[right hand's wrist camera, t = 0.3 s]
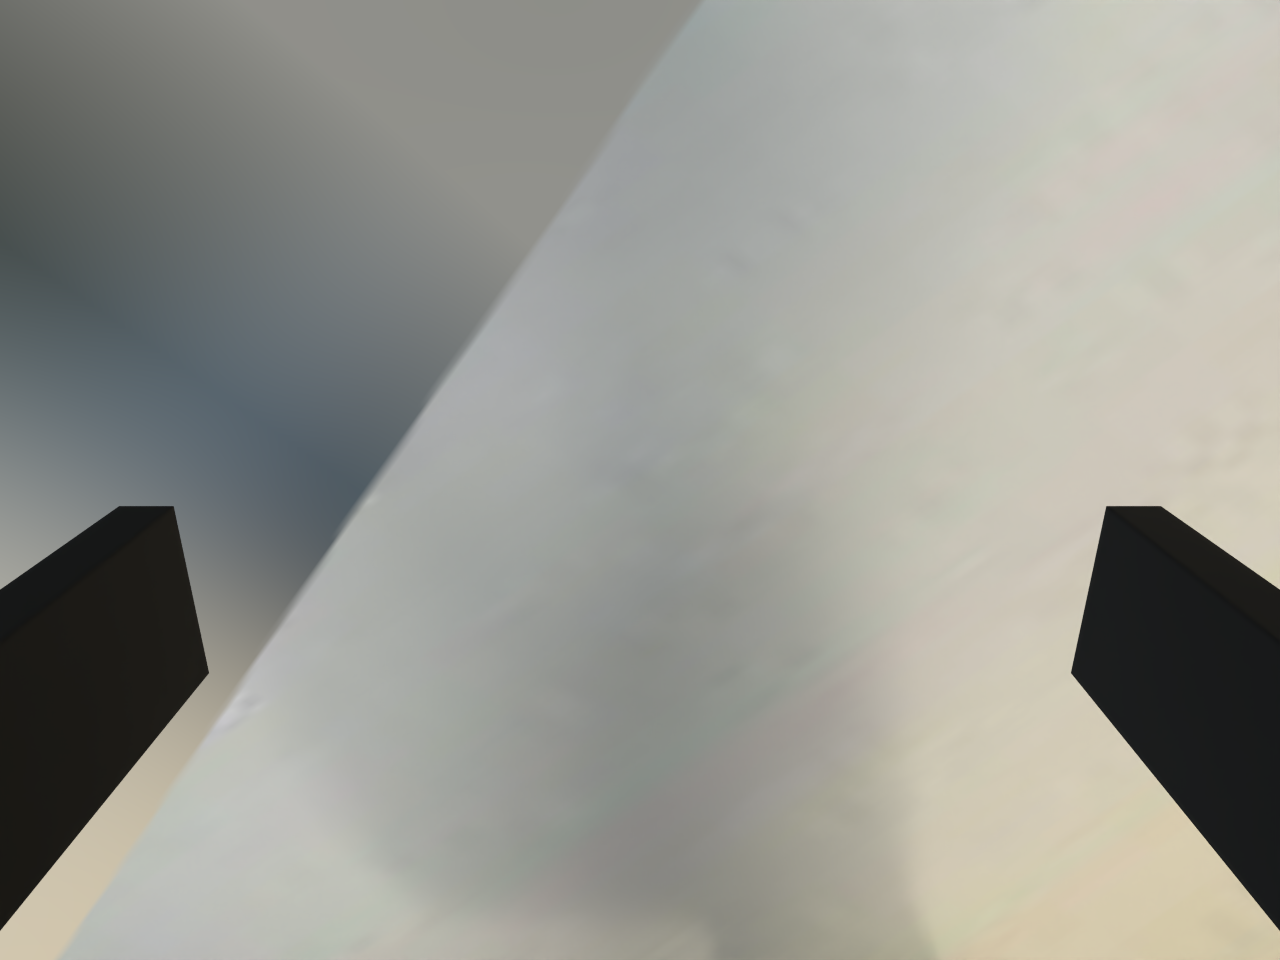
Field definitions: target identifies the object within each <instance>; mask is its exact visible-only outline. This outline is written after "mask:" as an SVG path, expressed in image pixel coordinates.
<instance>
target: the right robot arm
mask: <svg viewBox="0 0 1280 960" xmlns="http://www.w3.org/2000/svg"><path fill="white" fill-rule="evenodd" d="M208 674H209V671H208V666H207V661H206V657H205V652H204V647H203V643H202V638H201V633H200V628H199V624H198V619H197V614H196V610H195V605H194V600H193V595H192V591H191V586H190V582H189V577H188V572H187V567H186V562H185V558H184V553H183V548H182V544H181V539H180V534H179V530H178V525H177V520H176V515H175V511H174V507H173V506H119V507H117V508H116V509H115V510H113V511H112V512H110V513H109V514H108V515H106V516H105V517H103V518H102V519H100V520H99V521H98V522H96V523H95V524H93V525H92V526H90V527H89V528H87V529H86V530H85V531H83V532H82V533H80V534H79V535H78V536H76V537H75V538H73V539H72V540H70V541H69V542H68V543H66V544H65V545H63V546H62V547H60V548H59V549H58V550H56V551H55V552H53V553H52V554H50V555H49V556H48V557H46V558H45V559H43V560H42V561H40V562H39V563H38V564H36V565H35V566H33V567H32V568H30V569H29V570H28V571H26V572H25V573H23V574H22V575H20V576H19V577H18V578H16V579H15V580H13V581H12V582H11V583H9V584H8V585H6V586H5V587H3V588H2V589H1V590H0V930H1V929H2V928H3V927H4V925H5V924H6V923H7V922H8V920H9V919H10V918H11V917H12V915H13V914H14V913H15V912H16V911H17V909H18V908H19V907H20V906H21V904H22V903H23V902H24V901H25V899H26V898H27V897H28V896H29V895H30V893H31V892H32V891H33V889H34V888H35V887H36V886H37V885H38V883H39V882H40V881H41V880H42V878H43V877H44V876H45V875H46V873H47V872H48V871H49V870H50V869H51V867H52V866H53V865H54V864H55V862H56V861H57V860H58V859H59V857H60V856H61V855H62V854H63V852H64V851H65V850H66V849H67V848H68V846H69V845H70V844H71V843H72V841H73V840H74V839H75V838H76V836H77V835H78V834H79V833H80V832H81V830H82V829H83V828H84V827H85V825H86V824H87V823H88V822H89V820H90V819H91V818H92V817H93V815H94V814H95V813H96V812H97V811H98V809H99V808H100V807H101V806H102V804H103V803H104V802H105V801H106V799H107V798H108V797H109V796H110V795H111V793H112V792H113V791H114V790H115V788H116V787H117V786H118V785H119V783H120V782H121V781H122V780H123V778H124V777H125V776H126V775H127V774H128V772H129V771H130V770H131V769H132V767H133V766H134V765H135V764H136V762H137V761H138V760H139V759H140V757H141V756H142V755H143V754H144V753H145V751H146V750H147V749H148V748H149V746H150V745H151V744H152V743H153V741H154V740H155V739H156V738H157V736H158V735H159V734H160V733H161V732H162V730H163V729H164V728H165V727H166V725H167V724H168V723H169V722H170V720H171V719H172V718H173V717H174V716H175V714H176V713H177V712H178V711H179V709H180V708H181V707H182V706H183V704H184V703H185V702H186V701H187V699H188V698H189V697H190V696H191V695H192V693H193V692H194V691H195V690H196V688H197V687H198V686H199V685H200V683H201V682H202V681H203V680H204V678H205V677H206V676H207V675H208ZM1071 674H1072V675H1073V676H1074V677H1075V678H1076V680H1077V681H1078V682H1079V683H1080V685H1081V686H1082V687H1083V688H1084V690H1085V691H1086V692H1087V693H1088V695H1089V696H1090V697H1091V698H1092V699H1093V701H1094V702H1095V703H1096V704H1097V706H1098V707H1099V708H1100V709H1101V711H1102V712H1103V713H1104V714H1105V716H1106V717H1107V718H1108V719H1109V720H1110V722H1111V723H1112V724H1113V725H1114V727H1115V728H1116V729H1117V730H1118V732H1119V733H1120V734H1121V735H1122V736H1123V738H1124V739H1125V740H1126V741H1127V743H1128V744H1129V745H1130V746H1131V748H1132V749H1133V750H1134V751H1135V753H1136V754H1137V755H1138V756H1139V757H1140V759H1141V760H1142V761H1143V762H1144V764H1145V765H1146V766H1147V767H1148V769H1149V770H1150V771H1151V772H1152V774H1153V775H1154V776H1155V777H1156V778H1157V780H1158V781H1159V782H1160V783H1161V785H1162V786H1163V787H1164V788H1165V790H1166V791H1167V792H1168V793H1169V795H1170V796H1171V797H1172V798H1173V799H1174V801H1175V802H1176V803H1177V804H1178V806H1179V807H1180V808H1181V809H1182V811H1183V812H1184V813H1185V814H1186V816H1187V817H1188V818H1189V819H1190V820H1191V822H1192V823H1193V824H1194V825H1195V827H1196V828H1197V829H1198V830H1199V832H1200V833H1201V834H1202V835H1203V836H1204V838H1205V839H1206V840H1207V841H1208V843H1209V844H1210V845H1211V846H1212V848H1213V849H1214V850H1215V851H1216V853H1217V854H1218V855H1219V856H1220V857H1221V859H1222V860H1223V861H1224V862H1225V864H1226V865H1227V866H1228V867H1229V869H1230V870H1231V871H1232V872H1233V874H1234V875H1235V876H1236V877H1237V878H1238V880H1239V881H1240V882H1241V883H1242V885H1243V886H1244V887H1245V888H1246V890H1247V891H1248V892H1249V893H1250V895H1251V896H1252V897H1253V898H1254V899H1255V901H1256V902H1257V903H1258V904H1259V906H1260V907H1261V908H1262V909H1263V911H1264V912H1265V913H1266V914H1267V915H1268V917H1269V918H1270V919H1271V920H1272V922H1273V923H1274V924H1275V925H1276V927H1277V928H1278V929H1279V930H1280V590H1279V589H1278V588H1277V587H1275V586H1274V585H1272V584H1271V583H1269V582H1268V581H1267V580H1265V579H1264V578H1262V577H1261V576H1260V575H1258V574H1257V573H1255V572H1254V571H1252V570H1251V569H1250V568H1248V567H1247V566H1245V565H1244V564H1242V563H1241V562H1240V561H1238V560H1237V559H1235V558H1234V557H1232V556H1231V555H1230V554H1228V553H1227V552H1225V551H1224V550H1222V549H1221V548H1220V547H1218V546H1217V545H1215V544H1214V543H1212V542H1211V541H1210V540H1208V539H1207V538H1205V537H1204V536H1202V535H1201V534H1200V533H1198V532H1197V531H1195V530H1194V529H1193V528H1191V527H1190V526H1188V525H1187V524H1185V523H1184V522H1183V521H1181V520H1180V519H1178V518H1177V517H1175V516H1174V515H1173V514H1171V513H1170V512H1168V511H1167V510H1165V509H1164V508H1163V507H1161V506H1106V511H1105V515H1104V520H1103V525H1102V529H1101V534H1100V539H1099V544H1098V548H1097V553H1096V558H1095V562H1094V567H1093V572H1092V577H1091V581H1090V586H1089V591H1088V595H1087V600H1086V605H1085V610H1084V614H1083V619H1082V624H1081V628H1080V633H1079V638H1078V643H1077V647H1076V652H1075V657H1074V661H1073V666H1072V671H1071Z"/></svg>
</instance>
